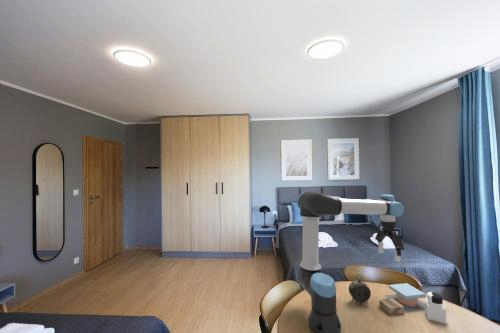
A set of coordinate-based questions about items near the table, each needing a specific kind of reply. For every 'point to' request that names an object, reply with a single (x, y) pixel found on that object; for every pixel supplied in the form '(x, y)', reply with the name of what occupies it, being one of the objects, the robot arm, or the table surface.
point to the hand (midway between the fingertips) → (389, 256)
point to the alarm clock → (359, 291)
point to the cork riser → (391, 306)
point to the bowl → (407, 301)
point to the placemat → (407, 309)
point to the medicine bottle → (435, 307)
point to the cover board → (407, 291)
